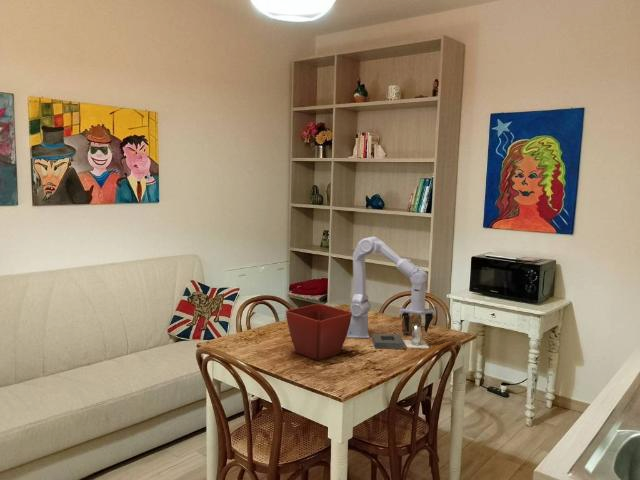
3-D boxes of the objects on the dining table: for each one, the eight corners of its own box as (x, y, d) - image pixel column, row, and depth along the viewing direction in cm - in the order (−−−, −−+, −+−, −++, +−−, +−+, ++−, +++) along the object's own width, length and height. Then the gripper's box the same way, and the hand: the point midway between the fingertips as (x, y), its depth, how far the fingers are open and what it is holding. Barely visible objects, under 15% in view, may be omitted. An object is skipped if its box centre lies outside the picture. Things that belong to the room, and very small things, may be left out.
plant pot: (352, 353, 203) (353, 312, 201) (318, 365, 190) (319, 321, 188) (318, 342, 217) (319, 303, 215) (284, 352, 203) (284, 310, 201)
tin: (406, 336, 227) (407, 318, 226) (400, 335, 229) (400, 316, 228) (421, 329, 239) (422, 311, 238) (415, 327, 241) (416, 310, 240)
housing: (374, 348, 210) (374, 342, 210) (371, 339, 222) (372, 333, 222) (404, 349, 210) (404, 343, 210) (399, 339, 222) (399, 334, 222)
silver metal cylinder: (412, 345, 214) (413, 326, 212) (410, 342, 218) (411, 323, 216) (421, 345, 214) (423, 326, 212) (420, 342, 218) (421, 323, 216)
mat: (407, 348, 212) (407, 347, 212) (403, 341, 221) (403, 340, 221) (429, 348, 212) (429, 347, 212) (424, 341, 221) (424, 340, 221)
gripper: (402, 301, 210) (400, 333, 212) (437, 301, 210) (436, 334, 211) (399, 297, 217) (398, 328, 219) (434, 297, 217) (432, 329, 218)
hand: (416, 331), depth 215 cm, fingers open, 7 cm apart
